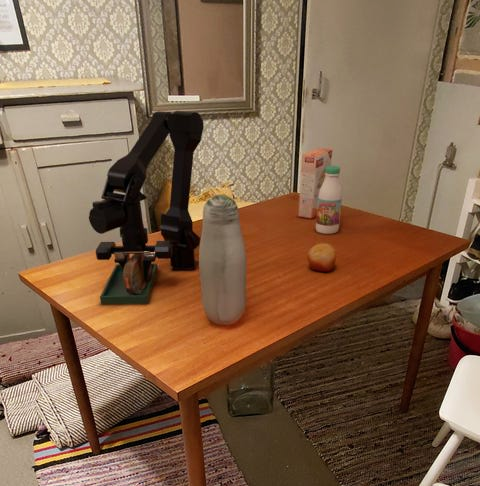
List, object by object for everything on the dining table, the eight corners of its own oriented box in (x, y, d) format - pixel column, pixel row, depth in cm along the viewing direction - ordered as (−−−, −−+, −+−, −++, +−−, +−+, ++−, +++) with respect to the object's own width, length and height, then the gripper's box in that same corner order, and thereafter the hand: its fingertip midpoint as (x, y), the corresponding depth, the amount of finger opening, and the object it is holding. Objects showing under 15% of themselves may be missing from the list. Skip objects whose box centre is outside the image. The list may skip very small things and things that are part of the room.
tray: (157, 270, 140) (156, 263, 138) (147, 304, 123) (146, 295, 121) (117, 271, 140) (115, 264, 138) (101, 304, 123) (99, 296, 121)
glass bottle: (250, 328, 112) (250, 201, 95) (206, 333, 110) (198, 205, 94) (241, 309, 120) (240, 188, 103) (200, 314, 118) (191, 192, 101)
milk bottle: (315, 226, 169) (320, 164, 157) (338, 227, 168) (344, 164, 156) (315, 234, 163) (320, 169, 151) (338, 234, 162) (345, 170, 150)
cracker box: (312, 219, 176) (317, 155, 163) (297, 217, 178) (300, 154, 166) (327, 209, 185) (333, 148, 173) (313, 207, 188) (317, 147, 175)
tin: (135, 300, 124) (131, 268, 119) (123, 299, 124) (119, 267, 119) (154, 276, 136) (151, 246, 131) (143, 275, 136) (139, 245, 131)
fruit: (340, 259, 141) (339, 240, 134) (332, 281, 139) (330, 263, 132) (313, 255, 144) (311, 236, 137) (305, 276, 141) (302, 258, 134)
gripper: (172, 211, 126) (177, 269, 135) (99, 212, 126) (110, 270, 135) (167, 225, 117) (174, 286, 126) (89, 226, 117) (101, 287, 126)
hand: (139, 281), depth 129 cm, fingers open, 3 cm apart
